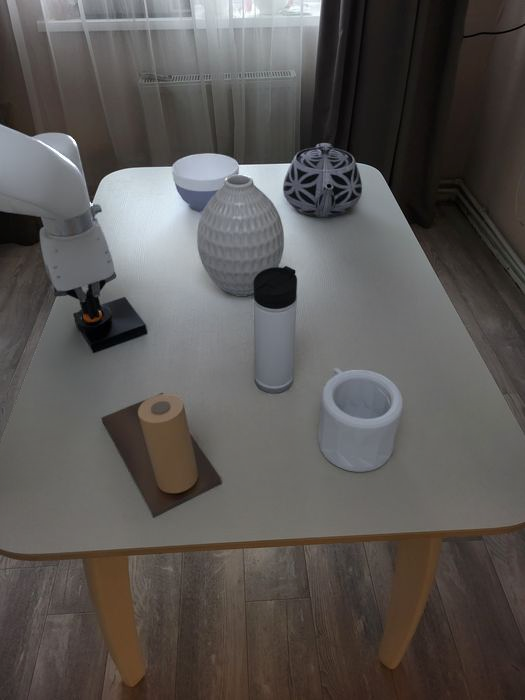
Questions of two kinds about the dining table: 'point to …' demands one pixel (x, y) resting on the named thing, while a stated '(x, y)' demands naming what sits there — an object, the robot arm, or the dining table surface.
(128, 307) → the button box
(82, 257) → the robot arm
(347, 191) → the teapot
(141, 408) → the paper roll
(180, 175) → the bowl
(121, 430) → the holder
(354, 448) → the mug
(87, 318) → the button
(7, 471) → the dining table surface
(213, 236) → the vase
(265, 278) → the travel mug
